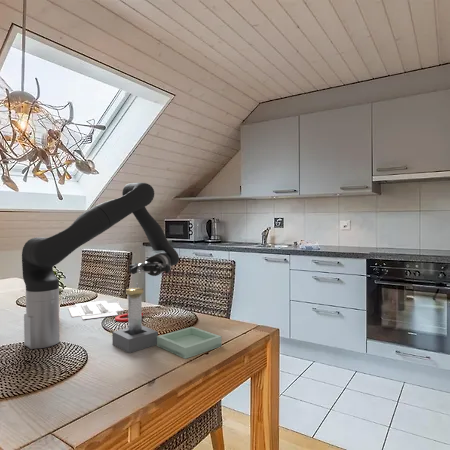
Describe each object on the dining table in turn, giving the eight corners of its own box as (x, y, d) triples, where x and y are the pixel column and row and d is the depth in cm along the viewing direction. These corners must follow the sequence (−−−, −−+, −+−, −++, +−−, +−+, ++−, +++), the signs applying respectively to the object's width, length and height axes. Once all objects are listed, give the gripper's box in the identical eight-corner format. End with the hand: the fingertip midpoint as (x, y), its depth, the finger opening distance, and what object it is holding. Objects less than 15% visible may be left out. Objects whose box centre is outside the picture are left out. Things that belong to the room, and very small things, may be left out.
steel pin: (132, 348, 108) (131, 291, 108) (123, 344, 112) (122, 289, 111) (147, 344, 112) (146, 289, 111) (138, 340, 115) (137, 287, 115)
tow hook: (111, 323, 136) (137, 322, 135) (109, 286, 136) (135, 285, 135) (119, 316, 145) (144, 315, 144) (118, 282, 145) (142, 281, 144)
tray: (185, 358, 100) (185, 348, 100) (157, 346, 110) (156, 336, 110) (221, 346, 110) (221, 336, 110) (192, 335, 120) (192, 326, 120)
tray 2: (73, 323, 137) (73, 313, 137) (66, 309, 161) (66, 301, 161) (127, 316, 146) (127, 306, 146) (113, 303, 171) (113, 296, 171)
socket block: (129, 353, 105) (128, 339, 105) (112, 344, 112) (112, 331, 112) (157, 344, 112) (157, 331, 112) (140, 336, 119) (140, 324, 119)
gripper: (138, 254, 139) (124, 260, 123) (175, 254, 138) (165, 260, 122) (138, 274, 139) (124, 281, 123) (175, 274, 138) (165, 282, 122)
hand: (145, 271), depth 122 cm, fingers open, 8 cm apart
